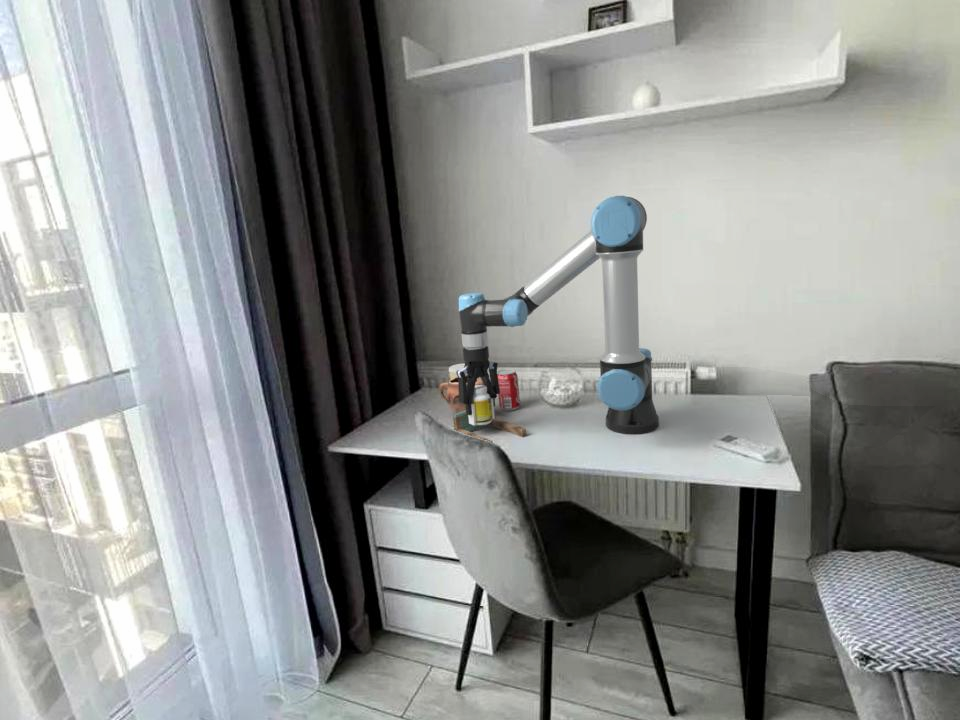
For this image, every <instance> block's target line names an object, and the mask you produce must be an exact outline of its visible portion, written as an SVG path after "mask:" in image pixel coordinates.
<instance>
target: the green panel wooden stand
mask: <svg viewBox="0 0 960 720" xmlns="http://www.w3.org/2000/svg"><path fill="white" fill-rule="evenodd" d="M452 419H453V420H452V421H453V429H454V430H456V431H458V432H461V433H464V434H467V435H470V436H473V437H476V438H480V439H483V440H487V441H489V442H492V443H493V440H491V439H488V438H486V437H483V436H481V435H479V434H476V433H473V432H475V431H478V430H480V429H485V428H486V427H489V426H491V427H494V428H498V429H500V430H502V431H505V432H508V433H511V434H513V435H516V436H518V437H521V438H524V437H527V428H525V427H522V426H519V425H518V424H514V423H511V422H509V421H505V420H503V419H500V418H498V417H497V418H496V417H495V419H492V421H491V423H489V424H486V425H475V426H474V425H472V424H469V417H468V414H466V410H464V411H461V412H458V413H455V414H453V413H452Z"/></svg>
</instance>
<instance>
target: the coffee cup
mask: <svg viewBox="0 0 960 720" xmlns="http://www.w3.org/2000/svg"><path fill="white" fill-rule="evenodd" d="M464 366H465V363H457V364H453V365H450V366H449V367H448V372H449V373H448V375H449V381H450V380H452V379H454V378H456V377H458V376H457V374H456V372H457V370H459V371H460V370H462V369H464ZM466 375H468V374H467V372H466Z"/></svg>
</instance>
